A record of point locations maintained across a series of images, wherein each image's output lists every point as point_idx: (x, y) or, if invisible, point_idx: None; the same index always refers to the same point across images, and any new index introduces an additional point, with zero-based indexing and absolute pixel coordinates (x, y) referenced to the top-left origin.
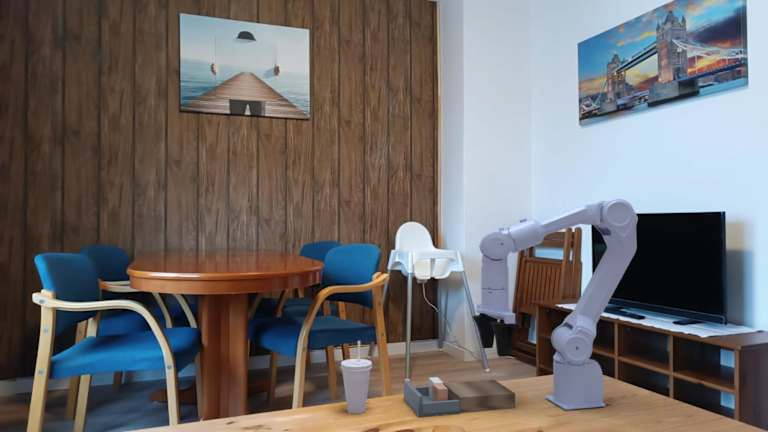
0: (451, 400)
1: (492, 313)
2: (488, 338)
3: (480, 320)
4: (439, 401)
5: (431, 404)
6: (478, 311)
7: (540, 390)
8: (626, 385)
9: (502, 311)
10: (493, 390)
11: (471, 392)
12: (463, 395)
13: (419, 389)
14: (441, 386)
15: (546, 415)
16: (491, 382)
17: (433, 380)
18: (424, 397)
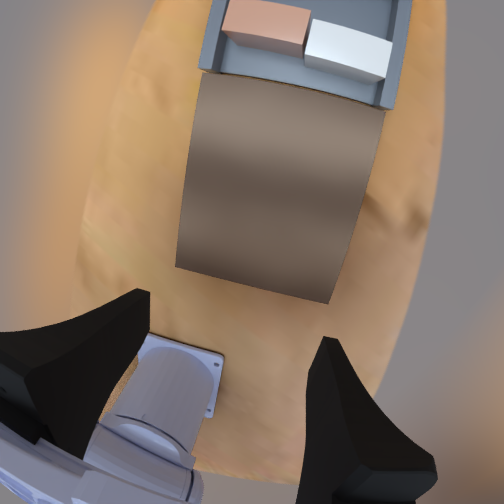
0: (214, 45)
1: (11, 457)
2: (318, 395)
3: (341, 466)
4: (222, 6)
5: None
6: (114, 493)
7: (280, 384)
8: (232, 475)
9: (16, 490)
10: (223, 225)
11: (235, 139)
12: (216, 93)
13: (393, 25)
14: (258, 21)
15: (126, 277)
16: (304, 277)
17: (349, 35)
18: None
